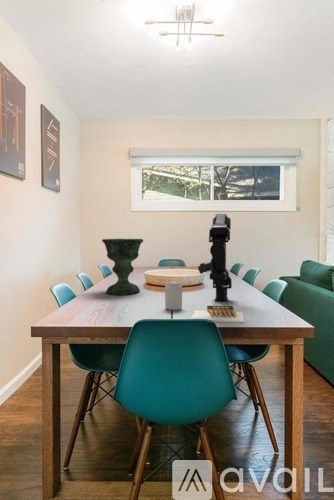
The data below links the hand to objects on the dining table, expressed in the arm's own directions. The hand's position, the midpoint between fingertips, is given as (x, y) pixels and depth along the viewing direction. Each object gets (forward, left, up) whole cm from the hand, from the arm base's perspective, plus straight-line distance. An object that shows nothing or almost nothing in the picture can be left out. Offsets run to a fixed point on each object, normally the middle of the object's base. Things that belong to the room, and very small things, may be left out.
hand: (218, 294), depth 137 cm
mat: (+4, 0, -8) cm, 9 cm away
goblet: (-39, -55, -9) cm, 68 cm away
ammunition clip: (-5, 0, -7) cm, 8 cm away
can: (-6, -20, -9) cm, 23 cm away
